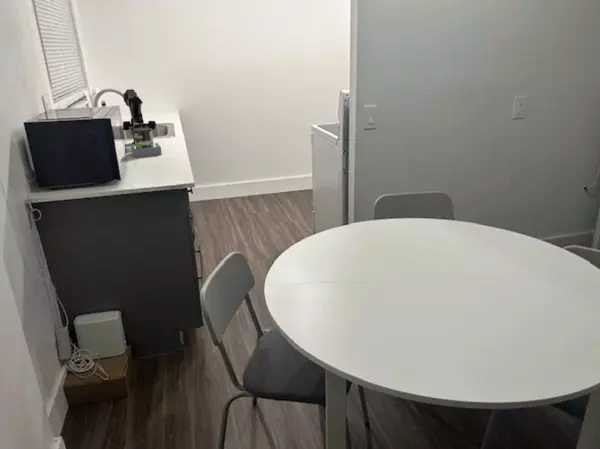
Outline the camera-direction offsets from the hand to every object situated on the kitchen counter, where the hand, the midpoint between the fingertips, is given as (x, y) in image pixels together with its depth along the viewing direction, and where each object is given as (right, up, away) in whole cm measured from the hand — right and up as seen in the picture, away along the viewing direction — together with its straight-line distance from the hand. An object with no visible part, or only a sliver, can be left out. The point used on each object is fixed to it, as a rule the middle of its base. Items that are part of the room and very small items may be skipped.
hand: (141, 137), depth 277 cm
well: (+6, -11, -9) cm, 15 cm away
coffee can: (+5, -11, -8) cm, 15 cm away
